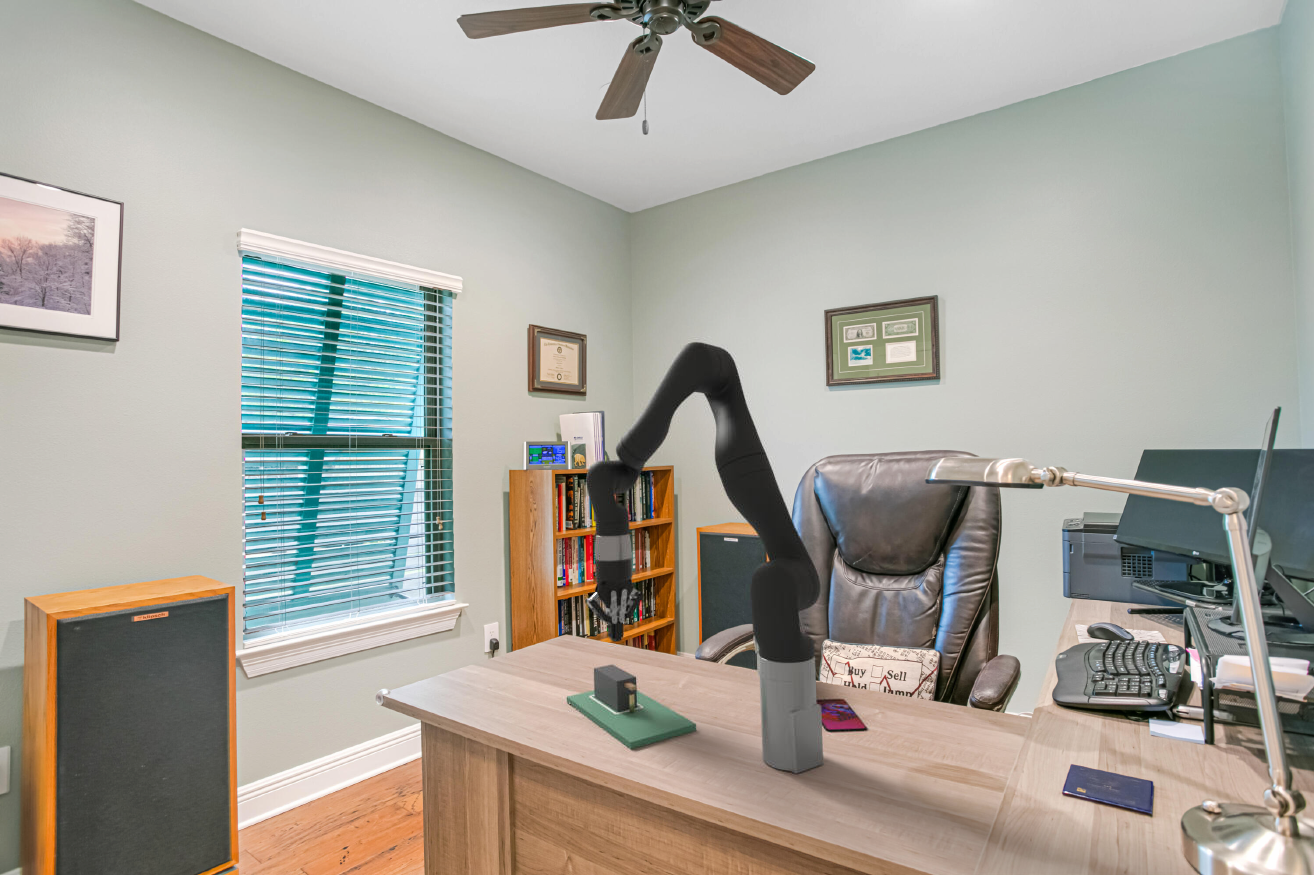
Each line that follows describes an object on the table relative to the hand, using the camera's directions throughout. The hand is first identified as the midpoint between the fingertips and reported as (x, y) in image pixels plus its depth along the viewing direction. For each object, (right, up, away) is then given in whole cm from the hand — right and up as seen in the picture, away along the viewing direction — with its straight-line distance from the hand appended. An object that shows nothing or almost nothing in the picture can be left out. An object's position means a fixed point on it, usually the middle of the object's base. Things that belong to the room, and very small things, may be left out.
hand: (616, 640), depth 137 cm
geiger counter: (+33, -13, +12) cm, 38 cm away
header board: (+2, -13, -5) cm, 15 cm away
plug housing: (+1, -12, -2) cm, 12 cm away
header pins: (0, -12, -1) cm, 12 cm away
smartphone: (+43, -13, -8) cm, 46 cm away
